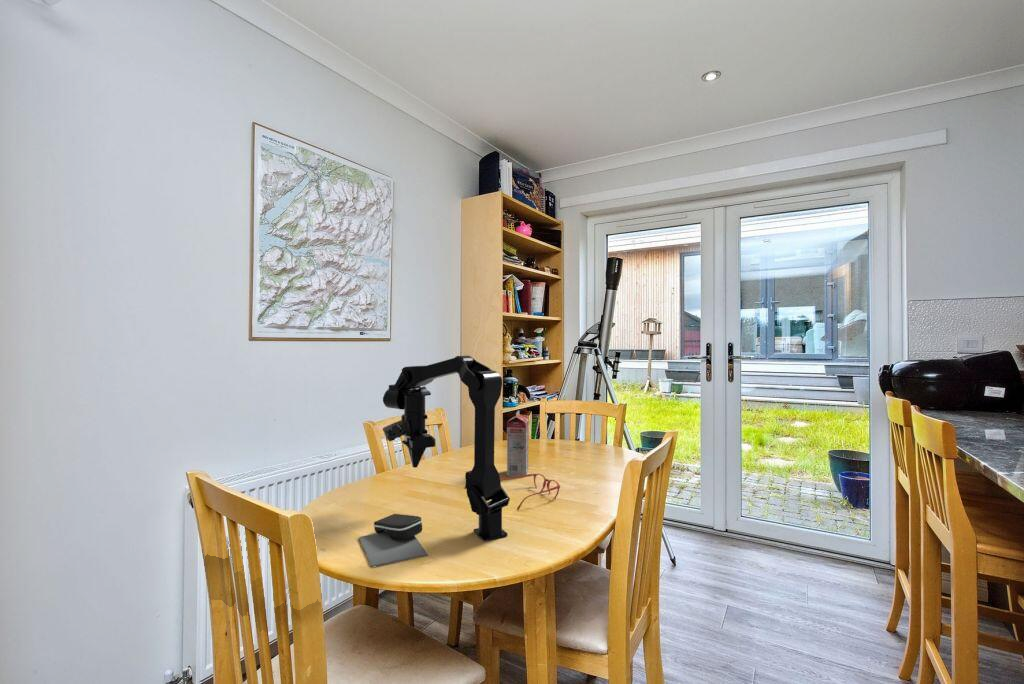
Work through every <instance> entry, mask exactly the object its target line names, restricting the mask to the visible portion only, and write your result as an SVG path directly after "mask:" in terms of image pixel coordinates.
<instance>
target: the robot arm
mask: <svg viewBox="0 0 1024 684" xmlns="http://www.w3.org/2000/svg"><path fill="white" fill-rule="evenodd" d="M455 374H458V376H459V379H460V381H461V382H462V383H463V384H464V385H465V386H466V387H467V390H468V398H469V399H470V401H471V404H472V405H473V407H474V443H473V445H474V449H473V451H474V453H473V454H474V455H473V458H474V460H473V467H472V469H471V470H469V471H466V472H465V475H464V477H465V486H464V489H465V490H466V496H467V498H468V502H469V505H470V509H471V512H472V513H475V514H476V515H477V516H478V527H477V528H473V532H474V534H475V535H476V536H477V537H479V538H480V540H482V541H484V542H485V541H486V542H487V541H490V540H494V539H498V538H503V537H508V532H506V531H505V530H504V529H503V508H505V507H507V506H509V504H510V499H511V498H510V497H509V494H508V493H507V492H506V490H505V489H504V487H503V486H502V484H501V481H500V479H501V477H500V473H499V471H498V470H497V467H496V466H495V430H496V429H495V423H496V420H495V419H496V416H495V415H496V414H495V413H496V406H497V404H498V401H499V399H500V397H501V395H502V388H503V377H502V376H501V375H500V374H499V372H497V371H496V370H493V369H491V368H490V367H488V366H487V365H485V364H483V363H481V362H479V361H477V360H476V359H475V358H474V357H472V356H470V355H456V356H454V357H452V358H449V359H446V360H441V361H438V362H435V363H431V364H428V365H411V366H409V365H408V366H404V367H403V368H402V369H401V372H400V374H399V375H398V378H397V380H396V382H395V384H389V385H388V389H387V390H386V391H385V392H384V393H383V397H382V403H383V405H384V406H385V407H386V408H388V409H395V410H403V414H402V415H401V417H400V418H401V419H400V420H398V421H395V422H393V423H391V424H388V425H387V426H384V427H383V428H382V431H383V433H384V436H385V438H386V440H387V441H388V442H393V441H395V440H396V439H397V438H399V439H400V438H401V437H402V436H404V437H403V438H404V440H401V443H402V444H403V445H404V446H406V447H407V449H408V454H409V457H410V462H411V464H412V465H411V466H412V467H413V468H418V467H419V464H420V462H421V459H422V457H423V455H424V453H425V452H426V449H427V448H435V447H436V438H435V437H434V436H432V435H431V434H429V433H428V429H426V420H428V414H426V396H431V394H432V393H431V391H430V390H428V389H427V387H426V386H427V385H429V384H430V383H432V382H433V381H434V380H435V379H437V378H442V377H447V376H450V375H455Z"/></svg>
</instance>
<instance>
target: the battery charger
mask: <svg viewBox="0 0 1024 684" xmlns="http://www.w3.org/2000/svg"><path fill="white" fill-rule="evenodd" d="M373 527H374V532H375V534H377V533H383V532H388V533H389V535H390V538H391V539H394V540H406V539H408V538H411V537H413V536H415V537H416V535H418V534H421V533H422V531H423V520H422V517H421V516H418V515H410V514H409V515H408V514H399V513H393V514H390V515H388V516H385V517H383V518H380V519H378V520H375V521H374V522H373Z"/></svg>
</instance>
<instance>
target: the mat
mask: <svg viewBox="0 0 1024 684" xmlns="http://www.w3.org/2000/svg"><path fill="white" fill-rule="evenodd" d="M358 539H360V540H359V542H360V544H361V546H363V547H362V549H363V551H364V554H365V555H367V556H366V557H367V559H368V560H367V561H368V563H369V564H371V565H370V567H371V566H372V567H373V568H375V567H374V566H378V567H381V565H382V566H387V565H391V564H395V563H400V561H401V562H404V561H410V560H413V559H418V558H423V557H427V556H428V555H429V553H428V552H427V551H426V550H425V548H424V546H423V545H422V544H421V543H420V541H419V540H418V538H417V537H416V535H415V536H413V537H411V538H408V539H406V540H394V539H391V538H390V535H389V533H388V532H387V531H385V532H383V533H372V534H368V535H363V536H359V537H358ZM386 564H387V565H386ZM372 567H371V568H372Z"/></svg>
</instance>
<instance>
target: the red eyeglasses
mask: <svg viewBox="0 0 1024 684" xmlns="http://www.w3.org/2000/svg"><path fill="white" fill-rule="evenodd" d="M538 475H539V476H541V477H543V483H542V488H541V489H540V492H536V493H532V494H529V495H528V496H527V495H526V496H525V497H524V498H523V499H522V500H521V502H520V503H519V504H518V506H517V508H519V509H520V508H521V506H522V505H523V503H524V502H525V500H526V499H528V498H529V497H532V496H535V495H541V494H542V493H543V494H544V493H546V492H548V495H550V494H551V495H552V492H551V491H554V490H556V493H555V495H554V496H555V497H554V498H556V497H558V495H559V491H560V488H561V485H560V484H559V482H557V481H556V480H555V479H549V478H546V477H545V475H544V474H542V473H527V475H521V476H508V477H503V478H500V482H501V481H503V480H509V479H516V478H526V477H527V478H528V477H533V483H534V487H535V488H536V487H537V488H538V485H537V483H536V477H537V476H538ZM551 482H555V484H556V485H557V486H554V487H551V488H550V483H551ZM545 488H546V489H545Z"/></svg>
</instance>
